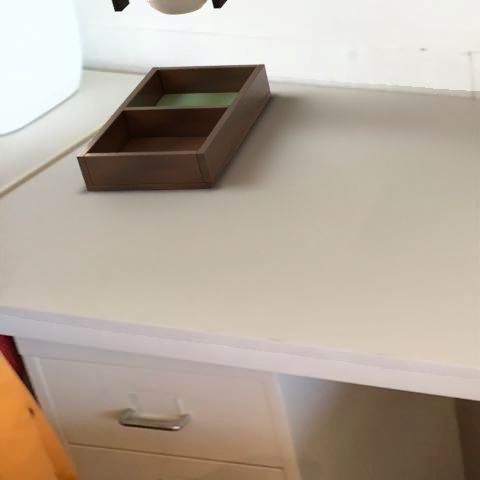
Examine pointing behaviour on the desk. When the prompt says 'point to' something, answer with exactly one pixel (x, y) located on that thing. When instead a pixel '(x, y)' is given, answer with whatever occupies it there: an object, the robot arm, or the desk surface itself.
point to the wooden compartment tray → (176, 128)
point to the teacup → (176, 6)
